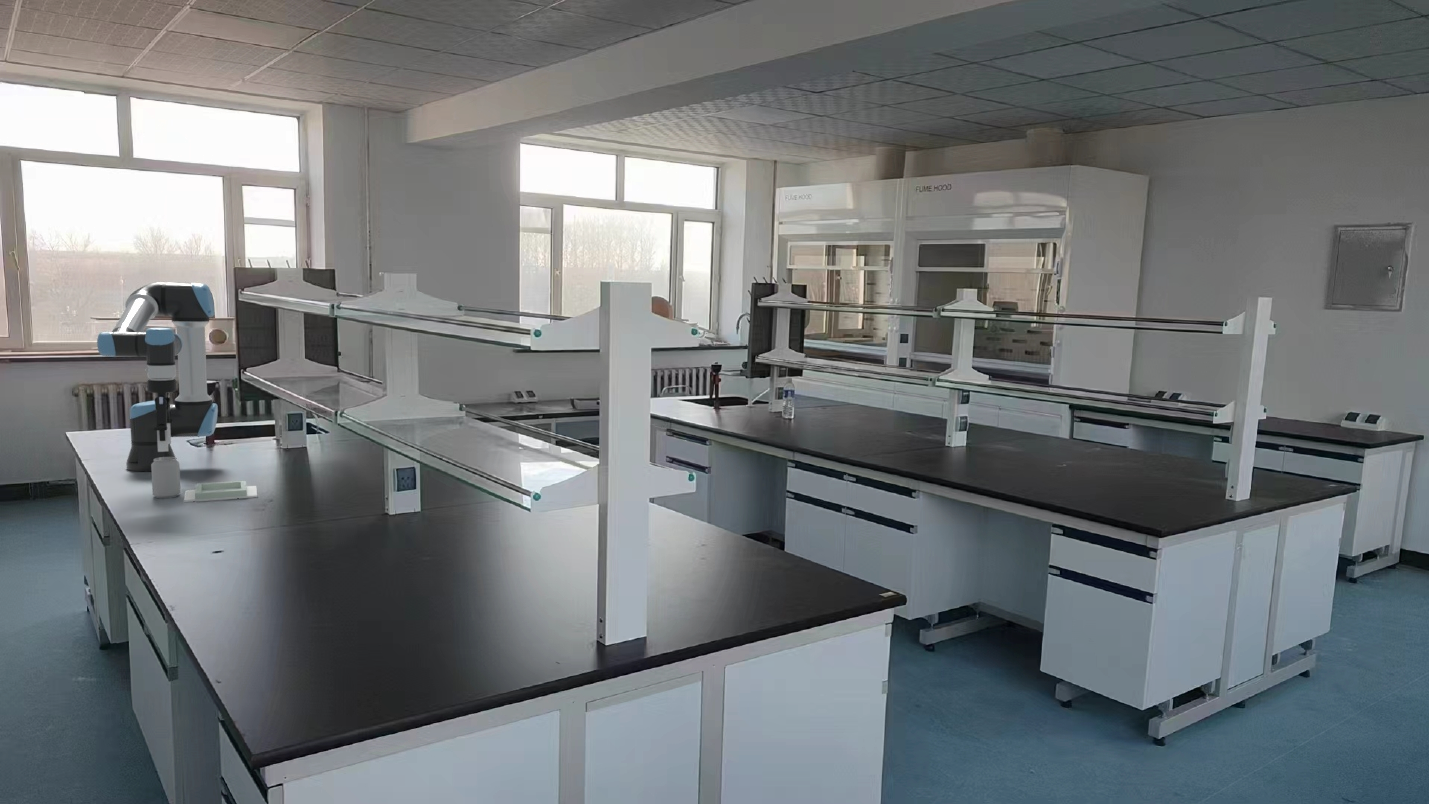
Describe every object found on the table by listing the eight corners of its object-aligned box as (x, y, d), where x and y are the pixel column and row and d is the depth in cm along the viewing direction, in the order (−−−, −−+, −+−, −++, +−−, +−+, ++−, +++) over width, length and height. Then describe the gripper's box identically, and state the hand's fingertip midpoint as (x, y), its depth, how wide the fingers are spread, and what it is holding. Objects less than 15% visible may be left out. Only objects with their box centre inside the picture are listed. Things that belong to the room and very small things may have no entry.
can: (171, 499, 285) (169, 461, 283) (147, 498, 285) (145, 460, 284) (185, 493, 292) (184, 456, 291) (162, 493, 293) (160, 455, 291)
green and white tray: (185, 492, 295) (185, 484, 294) (256, 487, 304) (256, 480, 303) (183, 502, 282) (183, 494, 282) (257, 497, 291) (257, 489, 291)
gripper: (150, 374, 293) (153, 441, 296) (143, 383, 271) (147, 455, 274) (177, 374, 297) (180, 440, 299) (173, 383, 275) (176, 454, 277)
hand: (164, 447), depth 287 cm, fingers open, 13 cm apart
